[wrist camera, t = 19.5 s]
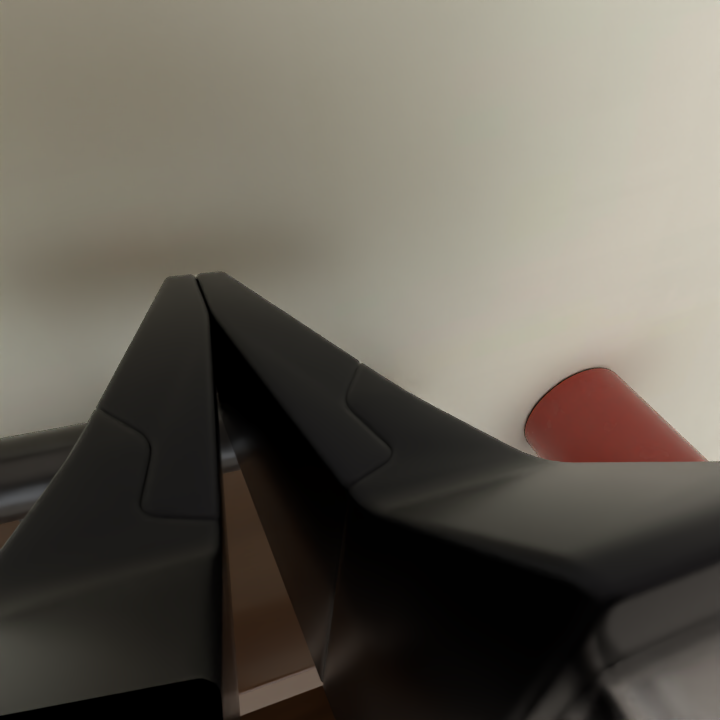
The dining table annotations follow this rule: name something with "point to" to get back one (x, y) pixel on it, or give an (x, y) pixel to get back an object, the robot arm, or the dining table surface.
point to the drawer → (247, 573)
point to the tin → (602, 424)
